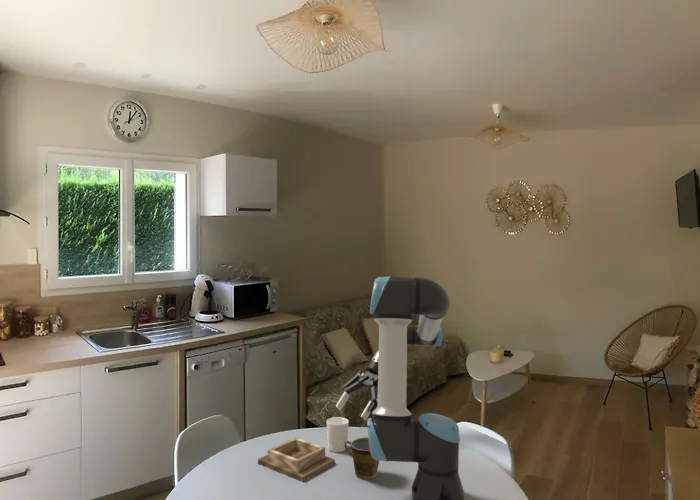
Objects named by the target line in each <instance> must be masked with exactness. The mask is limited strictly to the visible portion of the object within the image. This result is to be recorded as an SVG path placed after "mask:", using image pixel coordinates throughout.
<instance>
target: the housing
mask: <svg viewBox="0 0 700 500" xmlns="http://www.w3.org/2000/svg"><path fill="white" fill-rule="evenodd" d="M257 464H258V465H260V466H263V467H265V468H268V469H270V470H273V471H276V472H278V473H280V474H282V475H285V476H287V477H289V478H292V479H295V480H297V481H299V482H302V483H304V481H306V480H309V479H311V478H312V477H314V476H317V474H319V473H321V472H322V471H325V470H326V469H328V468H330V467H332V466H334V465H335V464H336V459H335V458H333V457H330V456H327V455H326V446H325V447H324V446H322V445H318V444H316V443H312V442H310V441H307V440H304V439H301V438H297V437H293V438H291V439H290V440H287V441H285V442H283V443H280V444H278V445H276V446H273V447H271V448H269V449H268V450H267V454H266V455H264V456H262V457H259V458H257Z"/></svg>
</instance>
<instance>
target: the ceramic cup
mask: <svg viewBox="0 0 700 500" xmlns="http://www.w3.org/2000/svg"><path fill="white" fill-rule="evenodd" d="M346 443H347V445H350V450H349V448H348V447H346ZM344 446H345V448H346V450H345V451H347V452H348V454H349V455H350V456H351V458H352V461H353V467H354V474H355V475H356V477H357V478H358V479H361V480H373V479H374V478H376V477H377V474H378V468H379V464H380V460H375V459H373V458H372V456H371V454H370V447H369V438H368V437H359V438H356V439H353V440H352V441H350V440H347V442H345V445H344Z"/></svg>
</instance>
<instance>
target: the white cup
mask: <svg viewBox="0 0 700 500" xmlns="http://www.w3.org/2000/svg"><path fill="white" fill-rule="evenodd" d="M349 423H350V421H349V419H347V417H346V418H345V417H341V416H334V417H330V418H327V419H326V438H327V439H326V440H327V441H326V442H327V450H328V451H330V452H333V453H342V452H345V451H347V450H346V448H345V446H344V445H345V442H347V441H348V435H349ZM347 445H348V443H346V447H347ZM347 448H348V447H347Z"/></svg>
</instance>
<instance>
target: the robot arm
mask: <svg viewBox="0 0 700 500" xmlns="http://www.w3.org/2000/svg"><path fill="white" fill-rule="evenodd" d="M372 287H373V288H372V292H371V299H370V307H369V313H370V314H371V315H374V317H373V318H374V319H373V320H374V322H375V323H376V324H377V325H378V349H377V351H376V352H375V353H374V355H373V357H372V358H371V360H370V362H369V363H368V365H367V366H366V371H365V372H362V371H361V370H359V371H358V372H357V373H356V374H355V375H354V376H353V377H351V379H349V380H348V381H347V382H346V383H344V384H343V385H342V386H341V390H342V391H343V392H342V393H341V395H340V397H339V400H338V401H337V403H336V405H335V407H336V409H338V410H339V411H342V409H343V407H344V406H345V404H346V403H347V401H348V399H349V398H350V394H351V393H352V394H353V392H356V391H357V390H359V389H360V388H362V387H363V388H364V387H367V388H370V391H371V392H370V393H371V399H370V400H369V401H368V402H367V405H365V408H364V410H363V412H362V413H361V415H360V417H361V418H362V419H363V420H364V421H366V422H367V423H366V424H367V436H368V437H367V438H369V447H370V454H371V456H372V458H373V459H375V460H379V461H381V462H383V461H384V462H385V463H388V462H401V463H403V462H404V463H418V465H417V472H416V473H415V477H414V479H413V482H412V486H411V498H412V500H465V491H464V487H463V483H462V480H461V478H460V474H459V466H460V465H459V462H460V461H459V456H460V453H459V452H460V441H461V439H460V428H459V425H458V424H457V422H456V421H455V420H453V419H452V418H449V417H448V416H446V415H443V414H437V413H431V412H429V413H422V414H421V415H420V416H419V417H418V420H417V419H412V412H411V411H410V410H409V409H408V408H407V385H408V384H407V381H408V380H407V378H408V377H407V375H408V373H407V371H408V370H407V366H408V364H407V363H408V359H407V358H408V346H411V347H413V346H416V347H418V346H419V347H440V346H442V344H443V328H442V327H441V325H442V321H443V319H444V318H445V317H446V315H447V314H448V312H449V310H450V305H451V301H450V296H449V294H448V293H447V291H446V289H445V288H444V287H443V286H442V285H441V284H440V283H439V282H437V281H435V280H433V279H431V278H427V277H424V276H423V277H411V276H392V275H391V276H379V277H377V278H376V279H375V280H374V282H373V286H372ZM413 316H419V320H418V325H414V324H413V325H412V324H410V323H412V322H413ZM371 413H372V415H371V417H369V416H370V414H371Z"/></svg>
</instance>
